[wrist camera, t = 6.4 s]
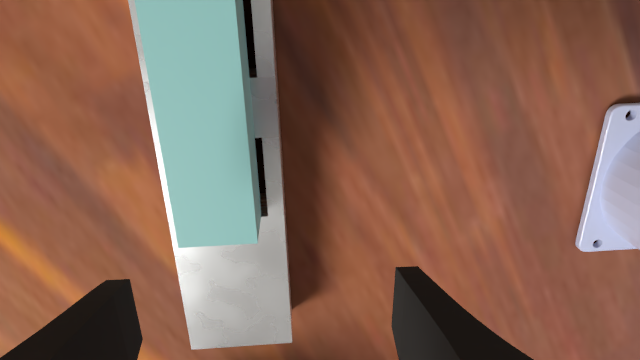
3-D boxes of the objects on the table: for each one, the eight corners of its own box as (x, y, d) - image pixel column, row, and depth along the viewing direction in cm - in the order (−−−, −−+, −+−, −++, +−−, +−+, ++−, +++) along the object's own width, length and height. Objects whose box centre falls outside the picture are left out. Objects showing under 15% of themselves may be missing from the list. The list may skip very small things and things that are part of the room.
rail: (257, -256, 15) (251, -303, 12) (291, 309, 24) (292, 342, 22) (107, -257, 15) (72, -305, 12) (200, 315, 24) (191, 349, 22)
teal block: (247, -11, 18) (233, -14, 13) (264, 190, 21) (257, 243, 17) (173, -9, 18) (132, -11, 13) (202, 193, 21) (178, 247, 16)
